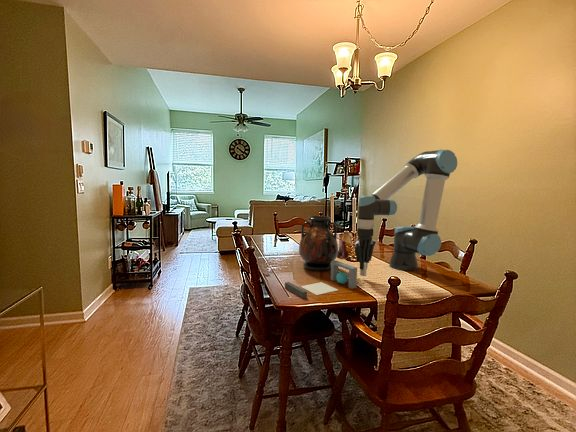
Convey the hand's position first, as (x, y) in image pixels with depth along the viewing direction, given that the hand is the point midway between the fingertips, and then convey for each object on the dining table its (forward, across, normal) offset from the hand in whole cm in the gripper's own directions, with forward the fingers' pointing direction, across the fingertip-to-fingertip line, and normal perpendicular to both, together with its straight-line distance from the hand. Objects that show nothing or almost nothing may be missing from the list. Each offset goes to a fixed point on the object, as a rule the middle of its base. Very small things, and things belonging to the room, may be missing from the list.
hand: (363, 275), depth 152 cm
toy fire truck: (+2, -22, -40) cm, 46 cm away
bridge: (+2, +13, 0) cm, 13 cm away
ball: (-1, +14, 0) cm, 14 cm away
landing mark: (+2, +27, 0) cm, 27 cm away
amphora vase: (+2, +7, -27) cm, 28 cm away
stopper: (+2, +39, -1) cm, 39 cm away
